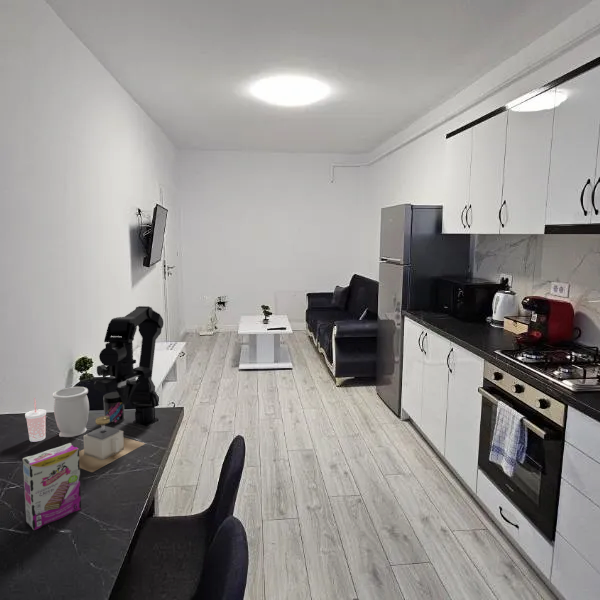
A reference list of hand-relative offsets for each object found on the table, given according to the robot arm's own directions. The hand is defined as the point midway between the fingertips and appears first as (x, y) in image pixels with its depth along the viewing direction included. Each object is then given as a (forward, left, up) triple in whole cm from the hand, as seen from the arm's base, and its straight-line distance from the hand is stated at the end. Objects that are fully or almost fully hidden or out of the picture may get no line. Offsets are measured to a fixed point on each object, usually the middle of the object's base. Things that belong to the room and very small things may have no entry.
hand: (125, 404), depth 145 cm
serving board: (+9, 0, -13) cm, 16 cm away
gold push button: (+9, 0, -8) cm, 12 cm away
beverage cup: (+12, -28, -13) cm, 33 cm away
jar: (+4, -21, -13) cm, 25 cm away
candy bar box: (+36, +15, -13) cm, 41 cm away
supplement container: (-9, -16, -13) cm, 23 cm away
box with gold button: (+9, 0, -12) cm, 15 cm away
